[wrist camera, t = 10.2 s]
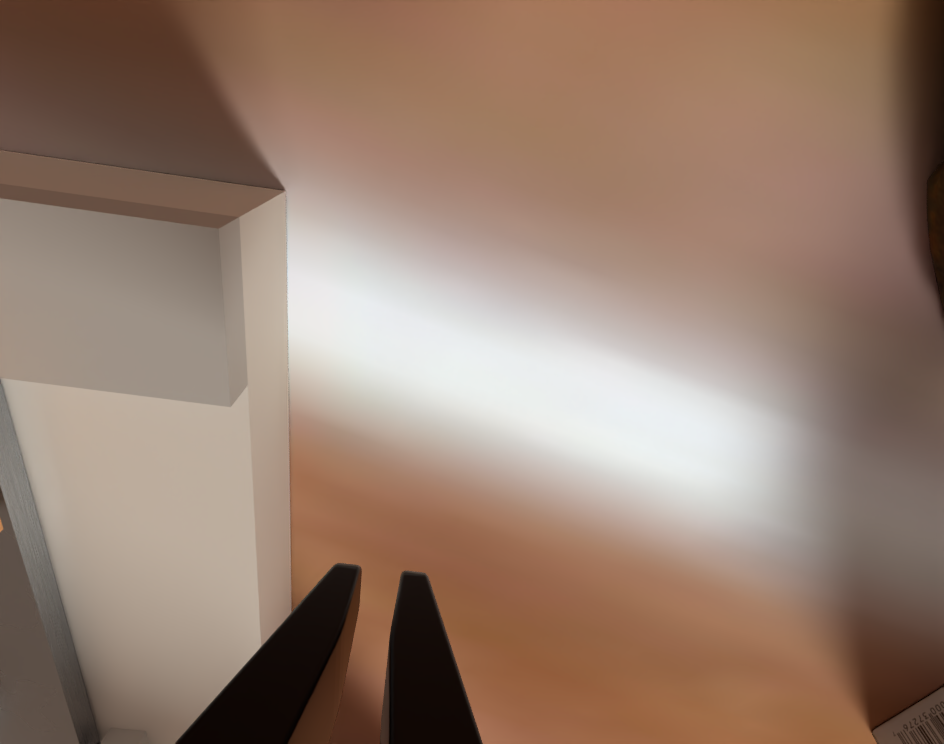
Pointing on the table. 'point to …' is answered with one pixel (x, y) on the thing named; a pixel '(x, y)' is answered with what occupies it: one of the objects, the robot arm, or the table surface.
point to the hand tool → (936, 223)
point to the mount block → (151, 423)
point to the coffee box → (915, 723)
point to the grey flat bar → (33, 622)
